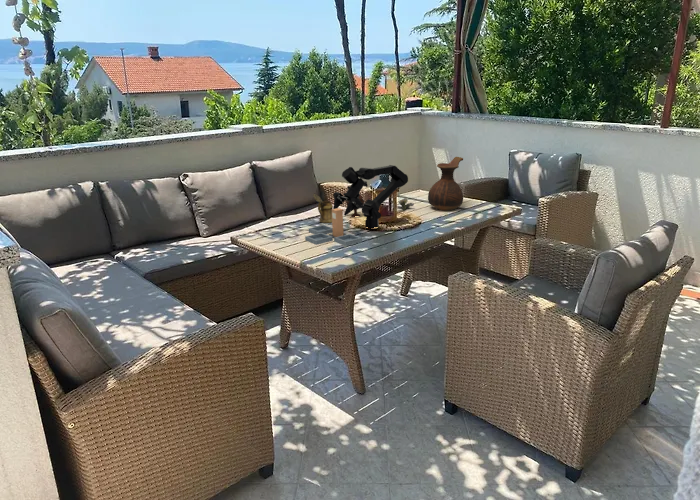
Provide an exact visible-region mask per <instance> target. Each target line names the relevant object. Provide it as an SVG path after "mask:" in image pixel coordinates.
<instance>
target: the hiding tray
mask: <svg viewBox="0 0 700 500" xmlns="http://www.w3.org/2000/svg"><path fill="white" fill-rule="evenodd" d="M329 235H330V234H324V233H318V234H310V235H306V236H305V235H304V239H305V241H306V242H308V243H311V244H314V245H316V246H317V245H320V244H325V243H328V242H332V241H333V242H334V239H333V237H332V236H329Z"/></svg>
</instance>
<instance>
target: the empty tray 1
mask: <svg viewBox="0 0 700 500" xmlns="http://www.w3.org/2000/svg"><path fill="white" fill-rule="evenodd" d="M307 229H308V233H310V234H312V235H314V234H318V233H324V234H326V235H330V234H333V227H331V226H328V225H326V224H322V225H317V226H313V227H309V228H307Z"/></svg>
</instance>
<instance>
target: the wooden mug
mask: <svg viewBox="0 0 700 500" xmlns="http://www.w3.org/2000/svg"><path fill="white" fill-rule="evenodd" d="M312 197H313V198H314V200H315V201H316V202H317V203H318V204H317V211H318V213H319V216H320V218H319V223H322V224H332V209H333V207H334V204H332V203H333V202H332V201H330V200H324V201H323V199H322V198H321V196H320V195H318V194H317V193H314V192H313V193H312Z"/></svg>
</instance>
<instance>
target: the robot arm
mask: <svg viewBox="0 0 700 500" xmlns="http://www.w3.org/2000/svg"><path fill="white" fill-rule="evenodd" d="M384 170H385V171H384ZM383 175H384V176H385V175H389V176H390V177H391V178H390V182H389V183H388V184H387V185H388V186H387V185H386V186H387V188H386V189H385V190H383V189H382V190H383V191H380V192H379V193H378V194H377V196H376V197H374V198H373V199H369V198H368V199H367V200H366V201H364V204H363V203H362V202H361V200H360V199H359V196H360V194H361V193H360V192H361V191H362V189H363V188H364V187H365V188H368V187H369V186H368V181H369V180H372V179H374V178H375V177H378V176H383ZM341 177H342V178H343V179H344V180H345V181H346V182H347V183H348V184H350V185H349V186H347V191H346V192H343V193H341V192H338V191H335V192H333V195H332V197H333V198H334V199H333V209H336V208H339V207H340V206H341V205H343V204H344V202H346V201H348V202H349V203H348V206H347V205H346V208H345V210H344V213H343V216H345V217H346V216H347V215H349V214H350V213H351V212H352V211H354V209H357V210H360V209H361V212H362V214H363V217H365V220H364V221H365V222H364V227H368V228H370V229H371V228H374V227H378V226H379V227H380V224H379V222H380V220H379V219H381V217H382V213H381V212H379V211H380V208H381V206H382V204H384V202H385V201H387V199H388V198H389V197H390V196H391V195H392V194H393V193H394V192H395V191H396V190H397V189H399V188H401V187H404V186H405V185H407V183H408V182H409V175H408V174H407V173H405V172H404V171H402V170H401V169H399V168H398V166H396V165H391V164H389V165H385V166H379V167H378V166H377V167H373V168H372V167H360V168H359V169H358V170H355V169H354V168H353V167H352V166H349V167H348V168H346V169H344V171H343V172H342V173H341ZM365 180H366V181H365ZM359 208H360V209H359ZM365 230H366V231H370V230H369V229H367V228H365Z"/></svg>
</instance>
